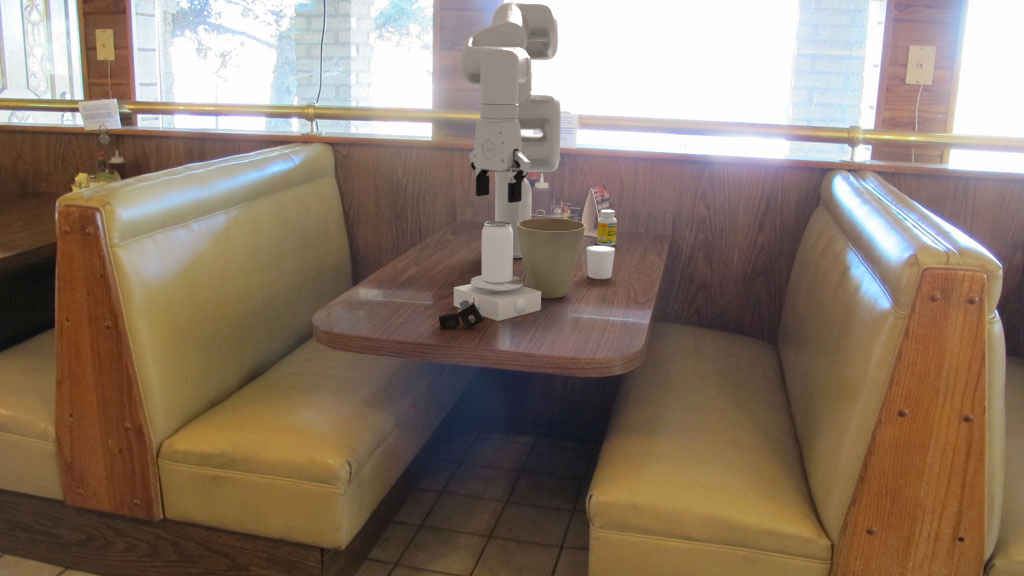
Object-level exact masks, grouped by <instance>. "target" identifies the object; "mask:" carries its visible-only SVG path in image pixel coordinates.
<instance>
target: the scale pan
mask: <svg viewBox="0 0 1024 576" xmlns="http://www.w3.org/2000/svg"><path fill="white" fill-rule="evenodd" d="M524 283H525V282H524V279H523V278H522V277H519V276H517V275H513V277H512V280H511V281H510V282H508V283H503V284H492V283H487V282H484V281H483V279H482V274H481V275H477V276H474V277H473V278H471V279H470V284H471V286H472V287H474V288H476V289H480V290H485V291H511V290H516V289H519V288H521V287H523V286H524Z"/></svg>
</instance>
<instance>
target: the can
mask: <svg viewBox="0 0 1024 576" xmlns="http://www.w3.org/2000/svg"><path fill="white" fill-rule="evenodd" d="M483 225H484V226H483V228H482V229H481V275H482V279H483V281H484V282H487V283H492V284H503V283H508V282H510V281H511V280H512V277H513V276H514V275H513V272H514V270H513V269H514V268H513V267H514V265H513V263H514V258H513V230H512V228H511V223H509V222H504V221H495V220H494V221H493V220H491V221H486V222H484V223H483Z"/></svg>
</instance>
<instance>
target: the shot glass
mask: <svg viewBox="0 0 1024 576" xmlns="http://www.w3.org/2000/svg"><path fill="white" fill-rule="evenodd" d="M615 253H616V249H615V247H613V246H603V245H599V244H596V245H595V244H594V245H589V246H587V247H586V261H587V264H586V265H587V276H588V277H589V278H592V279H594V280H606V279H610V278H612V272H613V266H614V259H615Z"/></svg>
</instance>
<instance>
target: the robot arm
mask: <svg viewBox="0 0 1024 576" xmlns="http://www.w3.org/2000/svg"><path fill="white" fill-rule="evenodd" d="M493 13H494V14H493V16H492V19H491V20H492V21H491V24H490V25H489V26H488V27H485V28H483V29H481V30H479V31H476V32H474V33H472V34H471V35H470V36H469V37H467V39H466V40H465V43H464V46H463V49H462V52H461V56H460V63H459V65H460V66H459V69H460V73H461V77H462V78H463V80H464V81H465V82H466V83H467V84H470V85H477V86H478V85H479V88H480V90H479V94H480V95H479V103H480V104H479V118H478V119H477V122H476V126H475V132H474V133H475V135H474V144H473V150H472V151H470V152H469V153H468V158H469V161H470V167H471V168H472V170H473V176H474V177H475V195H476V196H477V197H483V196H488V195H490V175H489V172H494V178H495V183H494V184H495V192H494V193H495V201H494V202H495V203H494V205H495V207H494V208H495V213H494V214H495V216H494V217H495V218H494V221H504V222H509V223H511V228H512V230H513V259H522V255H521V250H520V244H519V237H518V229H517V223H518V222H519V221H522V220H526V219H532V193H533V192H532V186H531V183H530V182H529V180H527V178H526V177H527V176H528V173H529V172H532V173H533V172H535V173H536V172H537V173H541V172H542V173H546V172H548V173H549V172H554V171H556V170H557V169H558V167H559V164H560V159H561V126H562V125H561V121H562V119H561V117H562V115H561V114H562V113H561V112H562V110H561V104H560V103H561V102H560V99H559V97H558V96H557V95H556V94H555V93H552V92H549V91H545V92H544V91H533V90H532V81H533V79H532V77H533V76H532V74H533V73H532V61H549V60H551V59H553V58H554V57H555V56H556V53H557V51H558V48H559V47H558V44H559V32H558V29H559V28H558V20H557V19H558V18H557V14H556V11H555V10H554V8H553V6H551V4H549V3H546V2H541V1H540V2H537V1H535V2H528V1H527V2H526V1H523V2H521V1H510V2H505V3H503V4H500V5H499V6H498V7H497V8H496V9H495V11H494V12H493ZM521 130H522V131H527V130H528V131H540V132H541V133H542V134H528V133H525V134H524V133H521Z"/></svg>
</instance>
